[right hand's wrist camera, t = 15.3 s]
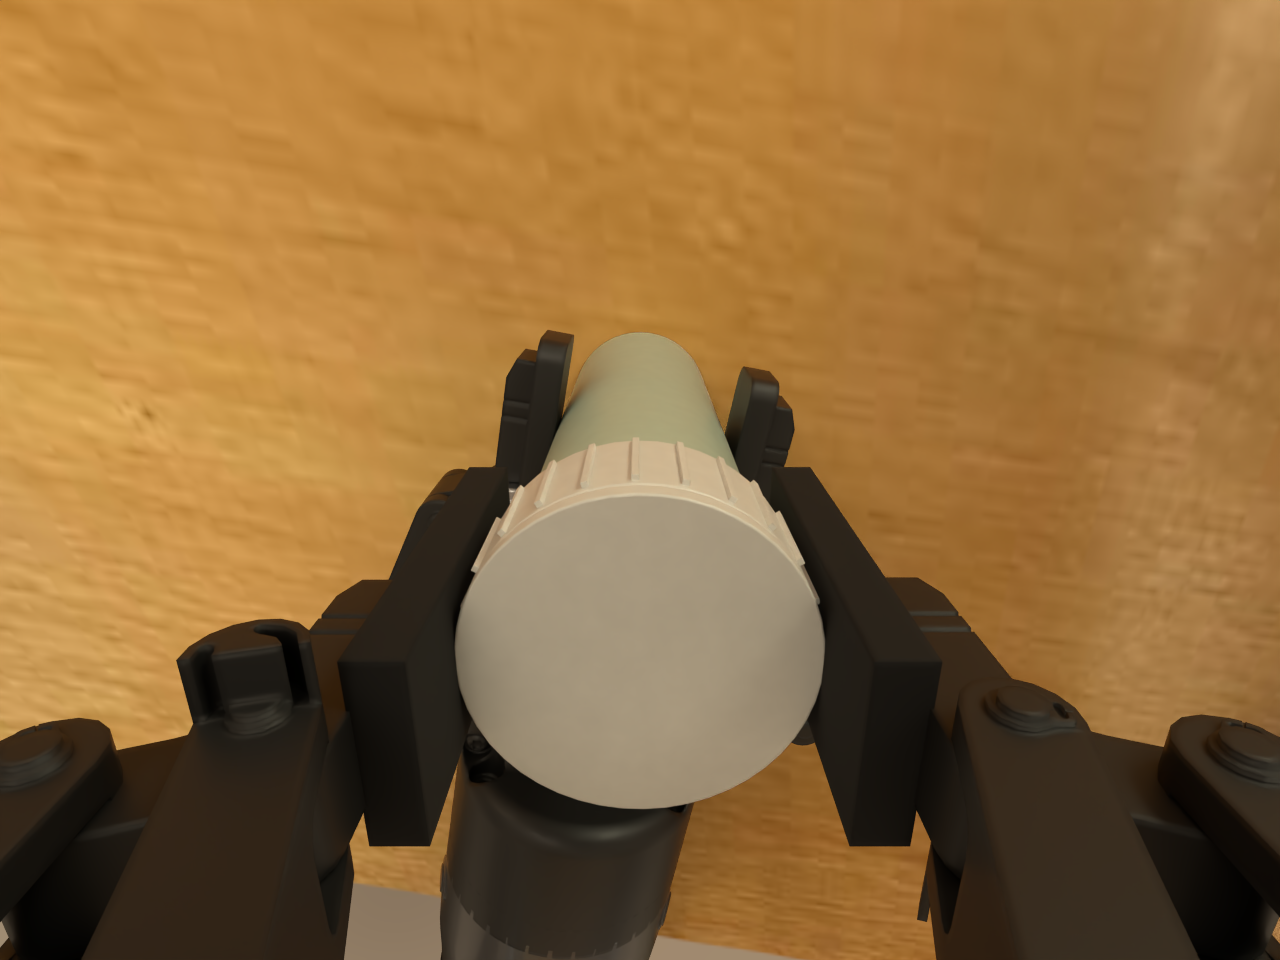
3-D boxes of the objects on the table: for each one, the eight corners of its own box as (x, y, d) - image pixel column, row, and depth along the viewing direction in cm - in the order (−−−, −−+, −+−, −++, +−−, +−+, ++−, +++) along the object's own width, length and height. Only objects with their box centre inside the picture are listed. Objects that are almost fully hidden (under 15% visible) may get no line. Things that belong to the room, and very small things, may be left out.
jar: (606, 475, 26) (563, 804, 11) (554, 361, 25) (428, 573, 10) (722, 430, 26) (834, 717, 11) (676, 311, 24) (733, 455, 9)
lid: (567, 749, 13) (553, 855, 11) (426, 511, 12) (375, 580, 10) (837, 652, 13) (879, 744, 10) (728, 382, 11) (750, 423, 9)
